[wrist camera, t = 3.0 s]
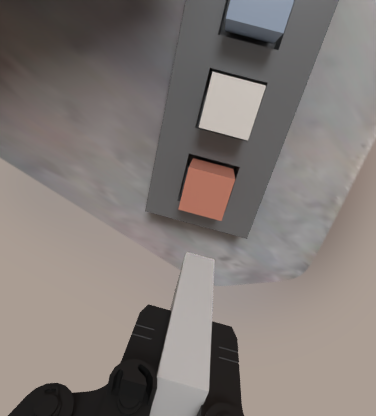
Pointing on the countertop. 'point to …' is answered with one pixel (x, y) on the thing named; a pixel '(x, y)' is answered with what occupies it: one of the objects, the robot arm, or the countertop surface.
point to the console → (265, 119)
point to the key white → (231, 105)
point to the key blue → (258, 18)
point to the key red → (207, 189)
